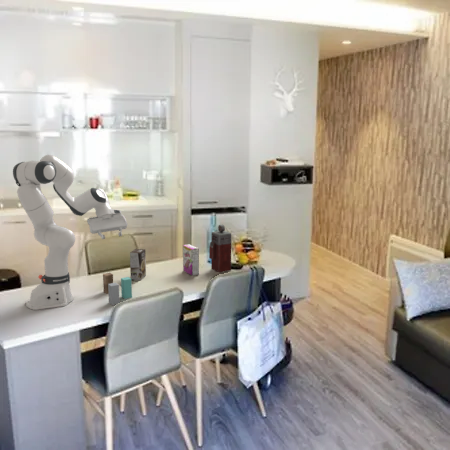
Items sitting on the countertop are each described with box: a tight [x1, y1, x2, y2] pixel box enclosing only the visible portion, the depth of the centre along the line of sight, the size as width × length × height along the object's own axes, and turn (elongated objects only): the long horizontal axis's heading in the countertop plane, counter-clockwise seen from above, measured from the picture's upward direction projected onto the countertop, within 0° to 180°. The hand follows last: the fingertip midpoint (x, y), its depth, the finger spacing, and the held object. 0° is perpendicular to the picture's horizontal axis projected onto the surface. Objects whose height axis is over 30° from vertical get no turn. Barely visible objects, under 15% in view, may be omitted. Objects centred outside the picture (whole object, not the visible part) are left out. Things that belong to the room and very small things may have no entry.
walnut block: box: [102, 272, 114, 295], centre depth 272 cm, size 4×4×10 cm
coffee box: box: [129, 248, 147, 281], centre depth 296 cm, size 9×6×16 cm
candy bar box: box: [182, 243, 200, 277], centre depth 305 cm, size 11×5×16 cm, turn 34°
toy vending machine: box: [208, 224, 232, 273], centre depth 311 cm, size 9×11×28 cm
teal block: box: [120, 276, 133, 300], centre depth 265 cm, size 4×4×10 cm
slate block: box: [108, 282, 121, 306], centre depth 256 cm, size 4×4×10 cm
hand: (112, 237), depth 274 cm, fingers open, 8 cm apart
